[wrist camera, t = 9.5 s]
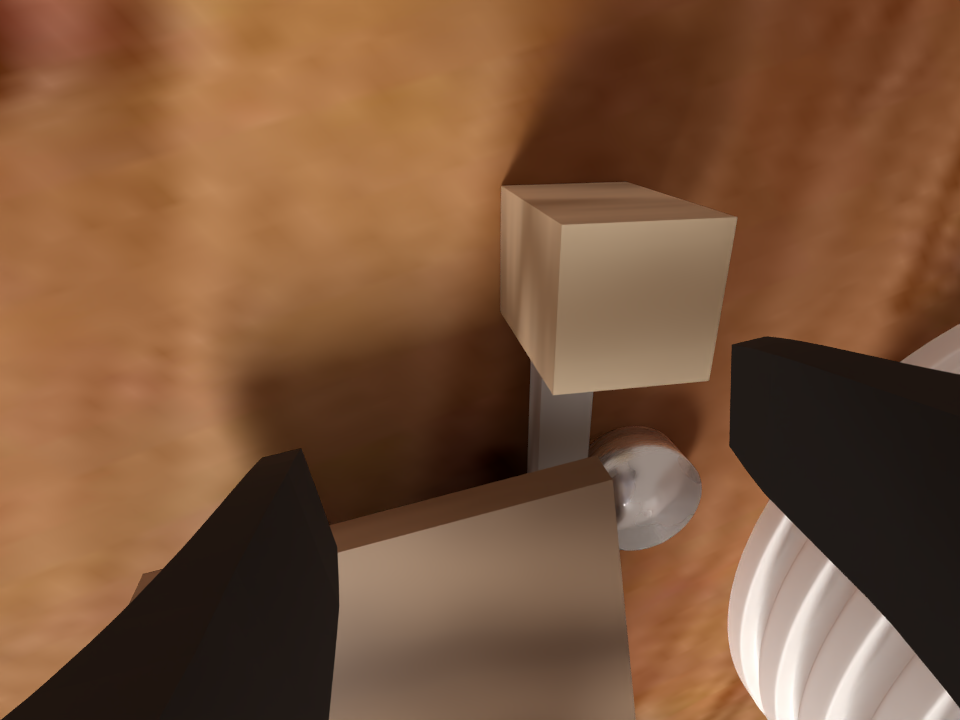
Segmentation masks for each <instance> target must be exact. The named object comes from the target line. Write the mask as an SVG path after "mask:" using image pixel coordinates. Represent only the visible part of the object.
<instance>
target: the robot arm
mask: <svg viewBox="0 0 960 720" xmlns="http://www.w3.org/2000/svg"><path fill="white" fill-rule="evenodd" d="M729 446H730V448H731V449H732V450H733V452H734V453H735V455H736V456H737V457H738V459H739V460H740V462H741V463H742V465H743V466H744V467H745V469H746V470H747V472H748V473H749V474H750V475H751V477H752V478H753V479H754V481H755V482H756V483H757V485H758V486H759V487H760V488H761V490H762V491H763V492H764V493H765V494H766V496H767V497H768V498H769V499H770V500H771V501H772V502H773V503H774V504H775V505H776V506H777V507H778V508H779V509H780V510H781V511H782V512H783V513H784V514H785V515H786V516H787V517H788V518H789V519H790V521H791V522H792V523H793V524H794V525H795V526H796V527H797V528H798V529H799V530H800V531H801V532H802V533H803V534H804V535H805V536H806V537H807V538H808V539H809V540H810V541H811V542H812V543H813V544H814V545H815V546H816V547H817V548H818V549H819V550H820V551H821V552H822V553H823V554H824V555H825V556H826V557H827V558H828V559H829V560H830V561H831V562H832V563H833V564H834V565H835V566H836V567H837V568H838V569H839V570H840V571H841V572H842V573H843V574H844V575H845V576H846V577H847V578H848V579H849V580H850V581H851V582H852V583H853V584H854V585H855V586H856V587H857V588H858V589H859V590H860V591H861V592H862V593H863V594H864V595H865V596H866V597H867V598H868V599H869V600H870V602H871V603H872V604H873V605H874V606H875V607H876V608H877V609H878V610H879V611H880V612H881V614H882V615H883V616H884V617H885V618H886V619H887V620H888V621H889V622H890V623H891V624H892V626H893V627H894V628H895V629H896V630H897V631H898V633H899V634H900V635H901V636H902V638H903V639H904V640H905V641H906V642H907V644H908V645H909V646H910V647H911V649H912V650H913V651H914V652H915V653H916V655H917V656H918V657H919V658H920V659H921V661H922V662H923V663H924V664H925V666H926V667H927V668H928V669H929V670H930V672H931V673H932V674H933V675H934V677H935V678H936V679H937V680H938V681H939V683H940V684H941V685H942V686H943V687H944V689H945V690H946V691H947V693H948V694H949V695H950V696H951V698H952V699H953V700H954V702H955V703H956V704H957V706H958V707H959V708H960V374H955V373H950V372H945V371H940V370H935V369H930V368H925V367H920V366H915V365H911V364H906V363H901V362H897V361H892V360H887V359H883V358H878V357H874V356H869V355H864V354H860V353H855V352H851V351H846V350H841V349H837V348H832V347H828V346H823V345H818V344H813V343H808V342H802V341H797V340H791V339H784V338H776V337H762V338H757V339H753V340H749V341H745V342H741V343H737V344H733V345H732V356H731V399H730V442H729ZM338 617H339V573H338V550H337V545H336V542H335V539H334V537H333V534H332V531H331V528H330V526H329V523H328V520H327V517H326V515H325V512H324V509H323V506H322V504H321V501H320V498H319V495H318V493H317V490H316V487H315V484H314V482H313V479H312V476H311V473H310V471H309V468H308V465H307V462H306V460H305V457H304V454H303V451H302V449H301V448H300V449H296V450H292V451H288V452H284V453H280V454H276V455H271V456H267V457H263V458H261V459H260V460H259V461H258V462H257V463H256V464H255V465H254V467H253V468H252V469H251V470H250V471H249V472H248V473H247V474H246V475H245V477H244V478H243V479H242V480H241V481H240V482H239V484H238V485H237V486H236V487H235V488H234V489H233V491H232V492H231V493H230V494H229V495H228V496H227V498H226V499H225V500H224V501H223V502H222V503H221V505H220V506H219V507H218V508H217V509H216V510H215V512H214V513H213V514H212V515H211V516H210V517H209V518H208V520H207V521H206V522H205V523H204V524H203V525H202V526H201V528H200V529H199V530H198V531H197V532H196V533H195V534H194V536H193V537H192V538H191V539H190V540H189V541H188V542H187V544H186V545H185V546H184V547H183V548H182V549H181V550H180V551H179V552H178V553H177V554H176V556H175V557H174V558H173V559H172V560H171V561H170V562H169V563H168V564H167V565H166V566H165V567H164V568H163V569H162V570H161V571H160V572H159V573H158V575H157V576H156V577H155V578H154V579H153V580H152V581H151V582H150V583H149V584H148V585H147V586H146V587H145V588H144V589H143V590H142V591H141V592H140V593H139V595H138V596H137V597H136V598H135V599H134V600H133V601H132V602H131V603H130V604H129V605H128V606H127V607H126V608H125V609H124V610H123V611H122V612H121V613H120V614H119V615H118V616H117V617H116V618H115V619H114V620H113V621H112V622H111V623H110V624H109V625H108V626H107V627H106V628H105V629H104V630H103V631H102V632H100V633H99V634H98V635H97V636H96V637H95V638H94V639H93V640H92V641H91V642H90V643H89V644H88V645H87V646H86V647H84V648H83V649H82V650H81V651H80V652H79V653H78V654H77V655H76V656H75V657H73V658H72V659H71V660H70V661H69V662H68V663H67V664H66V665H65V666H63V667H62V668H61V669H60V670H59V671H58V672H57V673H56V674H55V675H54V676H52V677H51V678H50V679H49V680H48V681H47V682H46V683H45V684H43V685H42V686H41V687H40V688H39V689H38V690H37V691H35V692H34V693H33V694H32V695H31V696H30V697H28V698H27V699H26V700H25V701H24V702H22V703H21V704H20V705H19V706H17V707H16V708H15V709H14V710H13V711H11V712H10V713H9V714H8V715H6V716H5V717H4V718H3V719H2V720H329V713H330V703H331V692H332V682H333V672H334V662H335V651H336V640H337V629H338Z"/></svg>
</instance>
